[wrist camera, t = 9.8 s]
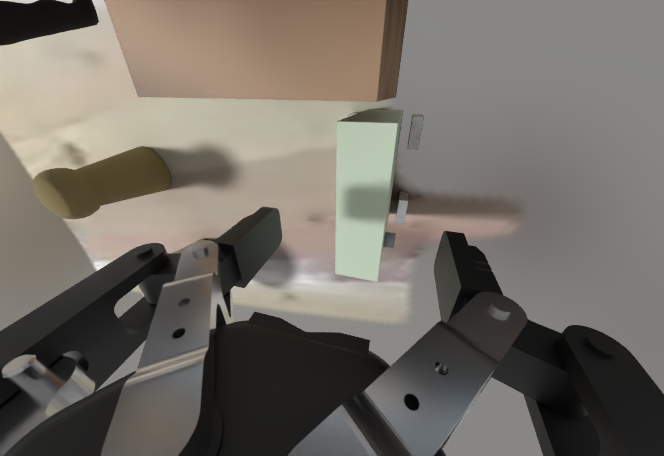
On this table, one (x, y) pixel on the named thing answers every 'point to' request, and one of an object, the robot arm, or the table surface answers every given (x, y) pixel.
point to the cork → (101, 183)
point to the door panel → (365, 190)
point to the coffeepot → (43, 18)
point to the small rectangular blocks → (412, 144)
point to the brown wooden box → (262, 48)
